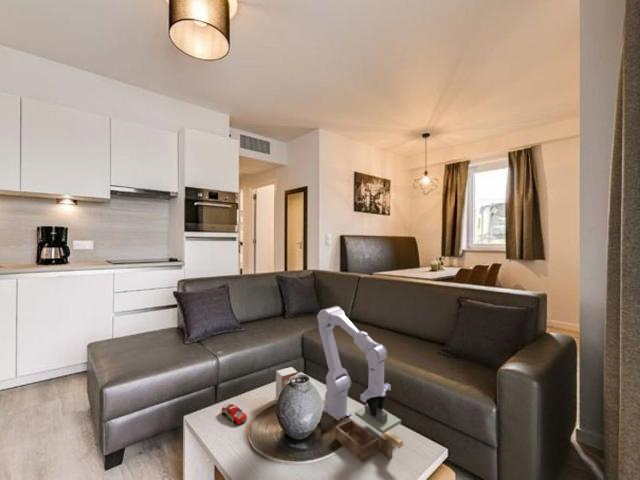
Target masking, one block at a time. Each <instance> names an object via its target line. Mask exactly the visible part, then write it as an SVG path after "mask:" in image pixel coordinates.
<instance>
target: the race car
mask: <svg viewBox="0 0 640 480" xmlns="http://www.w3.org/2000/svg"><path fill="white" fill-rule="evenodd" d="M242 410H243V409H241V408H239V407H238V406H237V405H236V404H233V403H228V404H225V405H223V406H222V407H221V415H222V416H223V417H224V418H226V419H227V420H229V421H230V422H231V423H232V424H234V425H235V426H237V425H238V426H239V425H242V424H244V423H246V422H247V421H248V415H247V414H246V413H245V412H244V411H242Z"/></svg>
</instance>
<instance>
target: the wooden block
mask: <svg viewBox="0 0 640 480" xmlns="http://www.w3.org/2000/svg"><path fill="white" fill-rule="evenodd" d="M384 434H385V439H386V440H387V441H389V442H390V443H392V444H393V446H395V447H396V448H397V449H401V448H403V446H404V443H403V442H404V441H403V439H401V438H400V437H398V436H397V435H395V434H394V433H392V432H391V431H390V430H389V431H387V432H385V433H384Z"/></svg>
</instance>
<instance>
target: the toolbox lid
mask: <svg viewBox="0 0 640 480" xmlns="http://www.w3.org/2000/svg"><path fill="white" fill-rule="evenodd" d="M354 416H356V417H357V418H359V419H361V420H362V421H364V422H365V423H366V424H368V425H369V426H371V427H372V428H373V429H375V430H376V431H378V432H380V433H381V435H382V434H385V432H387V431H390V430H392V429H394V428H396V427H398V426H399V425H401V424H402V419H400V418H398V417H397V416H395V415H393V414H392V413H390V412H388V411H387V410H386V409H384V408H383V409H382V410H381V409H379V408H378V407H377V411H376V416H375V417H374V416H372V415H371V414H370V410H369V406H368V403H367V402H366V403H365V404H364V407H362V408H360V409H358V410H356V411H354Z"/></svg>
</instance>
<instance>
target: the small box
mask: <svg viewBox="0 0 640 480" xmlns="http://www.w3.org/2000/svg"><path fill="white" fill-rule="evenodd" d="M296 374H298V375H299V371H297V370H296V369H295V368H294V367H292V366H290V367H287V368H286V367H285V368H282V369H278V370H275V400H277V398H278V396H279V393H280V392H281V390H282V389H283V387H284V386H285V385H286V384H287V383H288V381H289V378H290V377H291V376H294V375H296Z"/></svg>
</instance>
